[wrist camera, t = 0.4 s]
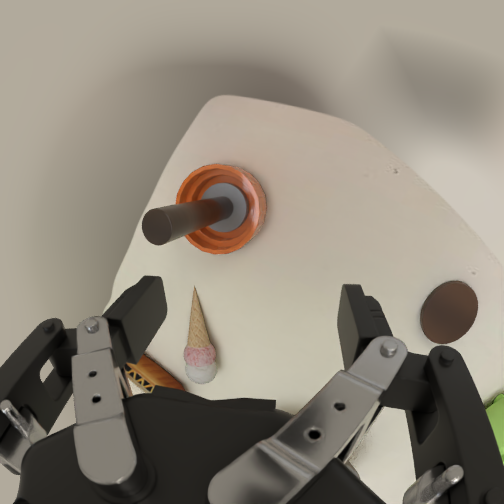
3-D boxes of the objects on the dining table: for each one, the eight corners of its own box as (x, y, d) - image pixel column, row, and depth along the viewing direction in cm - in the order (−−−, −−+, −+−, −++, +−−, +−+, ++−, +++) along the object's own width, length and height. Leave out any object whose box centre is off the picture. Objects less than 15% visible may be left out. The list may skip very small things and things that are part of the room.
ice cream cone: (197, 282, 43) (205, 373, 43) (171, 285, 40) (181, 382, 40) (218, 284, 40) (224, 382, 40) (190, 288, 37) (200, 392, 37)
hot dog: (183, 400, 47) (171, 417, 42) (127, 355, 48) (111, 369, 43) (194, 387, 45) (182, 405, 41) (134, 340, 46) (118, 354, 41)
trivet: (435, 273, 31) (437, 276, 30) (484, 288, 29) (487, 291, 28) (410, 334, 34) (411, 338, 33) (458, 344, 32) (461, 348, 31)
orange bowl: (197, 160, 36) (182, 158, 32) (275, 174, 34) (268, 173, 30) (186, 235, 38) (170, 242, 35) (258, 254, 37) (249, 264, 33)
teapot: (521, 363, 29) (551, 406, 17) (534, 393, 29) (557, 430, 17) (438, 434, 36) (450, 485, 24) (462, 453, 35) (473, 496, 24)
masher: (207, 178, 35) (130, 181, 21) (253, 187, 34) (197, 194, 19) (200, 224, 37) (123, 254, 22) (244, 235, 36) (186, 275, 21)
